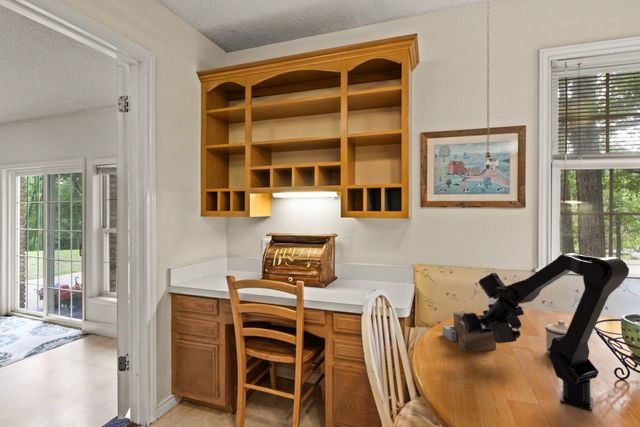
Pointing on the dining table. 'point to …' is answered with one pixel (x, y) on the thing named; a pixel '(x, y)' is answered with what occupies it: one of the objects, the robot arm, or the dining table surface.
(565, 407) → the dining table surface
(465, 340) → the tee block
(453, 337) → the stop bracket
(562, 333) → the teacup with lid
